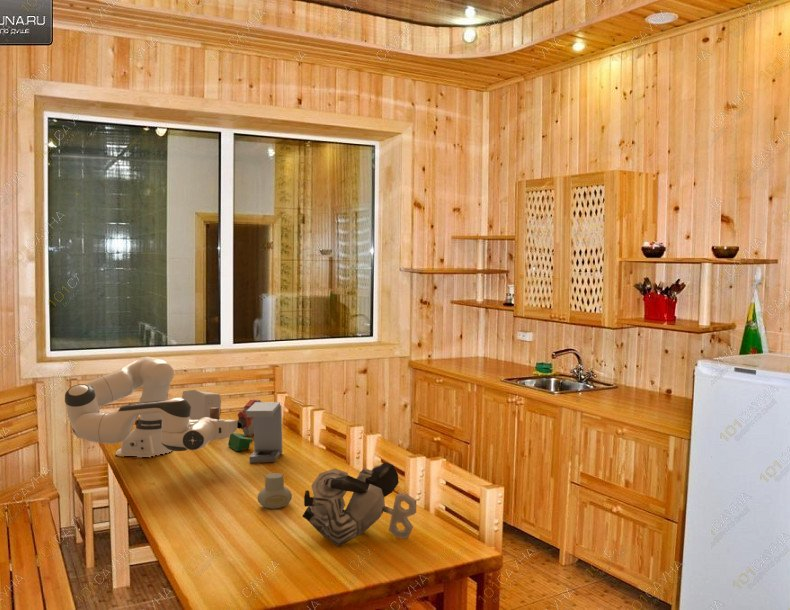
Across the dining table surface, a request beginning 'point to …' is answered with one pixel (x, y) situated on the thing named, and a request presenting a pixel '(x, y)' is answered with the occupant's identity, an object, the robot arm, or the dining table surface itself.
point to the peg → (214, 413)
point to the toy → (356, 503)
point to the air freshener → (274, 492)
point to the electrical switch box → (201, 403)
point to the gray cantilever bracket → (267, 425)
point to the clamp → (239, 441)
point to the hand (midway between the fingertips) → (215, 421)
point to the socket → (264, 456)
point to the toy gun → (246, 419)
